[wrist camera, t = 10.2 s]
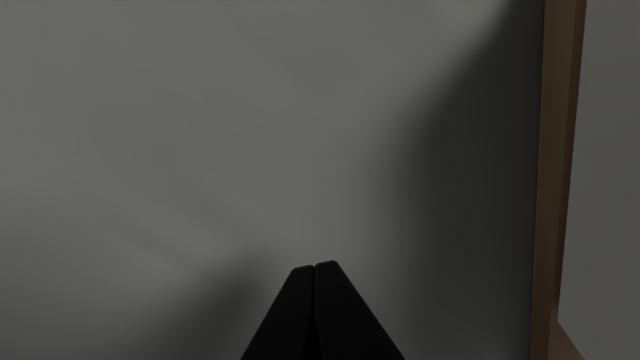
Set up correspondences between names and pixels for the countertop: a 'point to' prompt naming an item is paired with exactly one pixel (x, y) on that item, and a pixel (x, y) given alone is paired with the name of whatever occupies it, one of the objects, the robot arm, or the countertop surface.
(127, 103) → the countertop surface
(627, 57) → the white bent bar
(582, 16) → the board
